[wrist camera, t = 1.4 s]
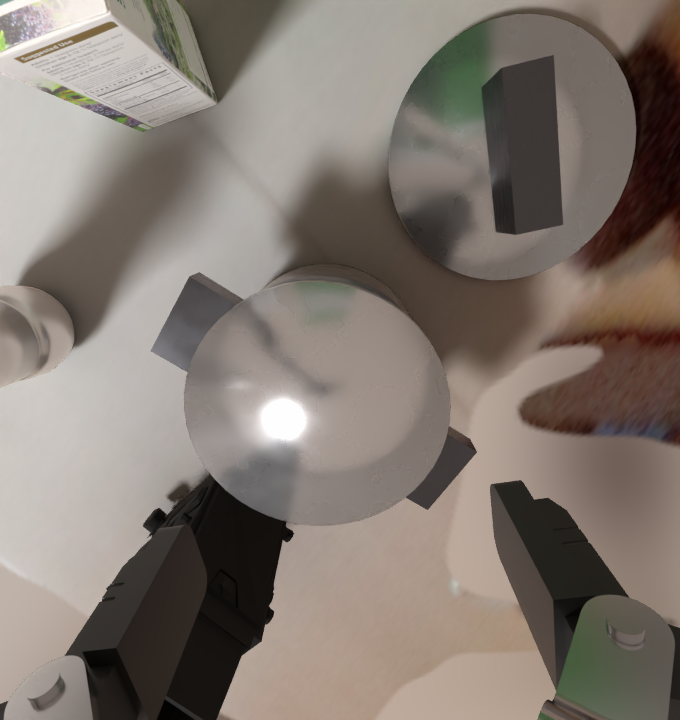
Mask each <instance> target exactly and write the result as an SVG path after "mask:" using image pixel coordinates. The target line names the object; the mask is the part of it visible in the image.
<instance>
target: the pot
mask: <svg viewBox="0 0 680 720" xmlns="http://www.w3.org/2000/svg"><path fill="white" fill-rule="evenodd" d="M151 351H152V352H153V353H155V354H157V355H159V356H160V357H162V358H164V359H166V360H167V361H169V362H171V363H173V364H174V365H176V366H178V367H180V368H181V369H183V370H185V371H187V372H188V374H187V377H186V384H185V391H184V411H185V418H186V424H187V428H188V431H189V435H190V438H191V441H192V443H193V445H194V448H195V450H196V452H197V454H198V456H199V458H200V459H201V461H202V463H203V464H204V466H205V467H206V469H207V470H208V471H209V473H210V474H211V475H212V476H213V478H214V479H215V480H216V481H217V482H218V483H219V484H220V485H221V486H222V487H223V488H224V489H225V490H226V491H227V492H229V493H230V494H231V495H233V496H234V497H235V498H236V499H238V500H239V501H241V502H242V503H244V504H246V505H247V506H249V507H250V508H252V509H254V510H256V511H258V512H261V513H263V514H265V515H267V516H270V517H273V518H276V519H279V520H282V521H287V522H291V523H296V524H303V525H313V526H329V525H339V524H346V523H351V522H355V521H360V520H363V519H365V518H368V517H371V516H374V515H376V514H379V513H381V512H383V511H385V510H387V509H389V508H390V507H392V506H394V505H395V504H397V503H398V502H400V501H401V500H403V499H404V498H405V497H406V498H408V499H409V500H411V501H413V502H415V503H416V504H418V505H420V506H422V507H423V508H425V509H427V510H428V509H429V508H430V507H431V505H432V504H433V503H434V502H435V501H436V500H437V498H438V497H439V496H440V495H441V494H442V493H443V491H444V490H445V489H446V488H447V487H448V485H449V484H450V483H451V482H452V481H453V480H454V478H455V477H456V476H457V475H458V474H459V473H460V471H461V470H462V469H463V468H464V467H465V466H466V464H467V463H468V462H469V461H470V460H471V459H472V457H473V456H474V455H475V454H476V453H477V451H476V449H475V447H474V446H473V444H472V442H471V440H470V439H469V438H467V437H466V436H464V435H463V434H461V433H459V432H458V431H456V430H454V429H453V428H451V427H450V426H449V423H450V408H451V406H450V393H449V387H448V383H447V378H446V374H445V372H444V369H443V366H442V364H441V361H440V359H439V357H438V355H437V353H436V351H435V350H434V348H433V346H432V344H431V343H430V341H429V339H428V338H427V337H426V335H425V334H424V333H423V331H422V330H421V329H420V328H419V326H418V325H417V324H416V323H415V322H414V321H413V320H412V319H411V318H410V317H409V315H408V313H407V311H406V309H405V308H404V306H403V304H402V303H401V302H400V300H399V299H398V298H397V296H396V295H395V294H394V293H393V292H392V291H391V290H390V289H389V288H388V287H387V286H386V285H384V284H383V283H382V282H380V281H379V280H378V279H376V278H374V277H373V276H371V275H369V274H367V273H365V272H363V271H360V270H358V269H355V268H352V267H348V266H344V265H336V264H315V265H308V266H304V267H300V268H297V269H294V270H291V271H289V272H287V273H285V274H283V275H281V276H279V277H278V278H276V279H275V280H273V281H272V282H271V283H269V284H268V285H267V286H266V287H265V288H263V289H262V290H261V291H260V292H258V293H256V294H254V295H251V296H250V297H248V298H247V299H245V300H243V299H242V298H240V297H239V296H237V295H235V294H234V293H232V292H230V291H229V290H227V289H226V288H224V287H222V286H221V285H219V284H217V283H216V282H214V281H213V280H211V279H209V278H208V277H206V276H204V275H203V274H201V273H200V272H199V273H197V274H194V275H192V276H190V277H189V279H188V280H187V282H186V284H185V286H184V288H183V290H182V292H181V294H180V296H179V298H178V300H177V301H176V303H175V305H174V307H173V309H172V311H171V313H170V315H169V317H168V319H167V321H166V322H165V324H164V326H163V328H162V330H161V332H160V334H159V336H158V338H157V340H156V342H155V344H154V345H153V347H152V349H151Z"/></svg>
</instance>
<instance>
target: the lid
mask: <svg viewBox="0 0 680 720" xmlns="http://www.w3.org/2000/svg"><path fill="white" fill-rule="evenodd" d="M635 142H636V120H635V110H634V105H633V100H632V95H631V92H630V89H629V86H628V84H627V81H626V78H625V76H624V74H623V72H622V71H621V69H620V67H619V65H618V63H617V62H616V60H615V59H614V58H613V56H612V55H611V54H610V52H609V51H608V50H607V49H606V48H605V47H604V46H603V45H602V44H601V43H600V42H599V41H598V40H597V39H596V38H595V37H594V36H592V35H591V34H589V33H588V32H587V31H585V30H584V29H582V28H581V27H579V26H576V25H574V24H572V23H570V22H568V21H566V20H563V19H559V18H556V17H552V16H547V15H539V14H514V15H509V16H503V17H498V18H495V19H492V20H489V21H486V22H483V23H480V24H478V25H476V26H474V27H472V28H470V29H468V30H466V31H464V32H463V33H461V34H460V35H458V36H457V37H455V38H454V39H453V40H451V41H450V42H448V43H447V44H446V45H445V46H444V47H443V48H441V49H440V50H439V51H438V52H437V53H436V54H435V55H434V56H433V57H432V58H431V59H430V60H429V61H428V63H427V64H426V65H425V66H424V67H423V68H422V70H421V71H420V73H419V74H418V75H417V77H416V78H415V80H414V81H413V83H412V84H411V86H410V88H409V90H408V92H407V94H406V95H405V97H404V99H403V101H402V104H401V106H400V109H399V111H398V114H397V116H396V119H395V122H394V126H393V130H392V134H391V138H390V145H389V153H388V175H389V185H390V190H391V194H392V199H393V203H394V205H395V208H396V211H397V213H398V216H399V218H400V220H401V222H402V224H403V226H404V228H405V229H406V231H407V232H408V234H409V235H410V236H411V238H412V239H413V241H414V242H415V243H416V244H417V245H418V246H419V247H420V248H421V249H422V250H423V251H424V252H425V253H426V254H427V255H428V256H430V257H431V258H432V259H433V260H435V261H436V262H438V263H440V264H441V265H443V266H445V267H447V268H448V269H450V270H453V271H455V272H457V273H460V274H462V275H466V276H470V277H473V278H478V279H486V280H509V279H516V278H522V277H526V276H530V275H533V274H536V273H539V272H541V271H544V270H546V269H549V268H551V267H553V266H555V265H556V264H558V263H560V262H562V261H564V260H565V259H567V258H568V257H569V256H571V255H572V254H574V253H575V252H577V251H578V250H579V249H580V248H581V247H582V246H584V245H585V244H586V243H587V242H588V241H589V240H590V239H591V238H592V237H593V236H594V235H595V234H596V233H597V231H598V230H599V229H600V228H601V227H602V226H603V224H604V223H605V221H606V220H607V219H608V217H609V216H610V214H611V213H612V211H613V209H614V208H615V206H616V204H617V202H618V201H619V199H620V197H621V195H622V192H623V190H624V188H625V185H626V183H627V180H628V177H629V173H630V170H631V167H632V162H633V157H634V151H635Z"/></svg>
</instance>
